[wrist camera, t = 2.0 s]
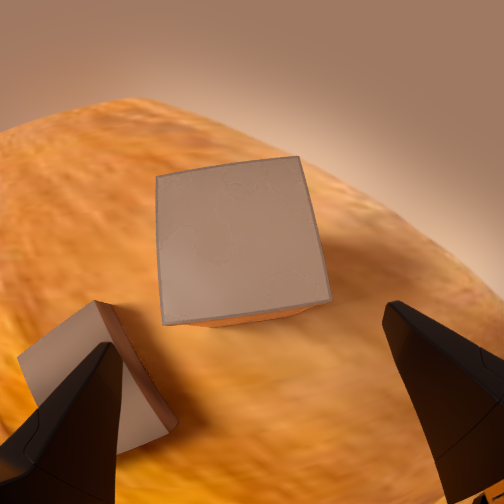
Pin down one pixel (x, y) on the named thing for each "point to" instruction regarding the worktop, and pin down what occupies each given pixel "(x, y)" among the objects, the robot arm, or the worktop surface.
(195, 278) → the tin
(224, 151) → the worktop surface
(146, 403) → the block
